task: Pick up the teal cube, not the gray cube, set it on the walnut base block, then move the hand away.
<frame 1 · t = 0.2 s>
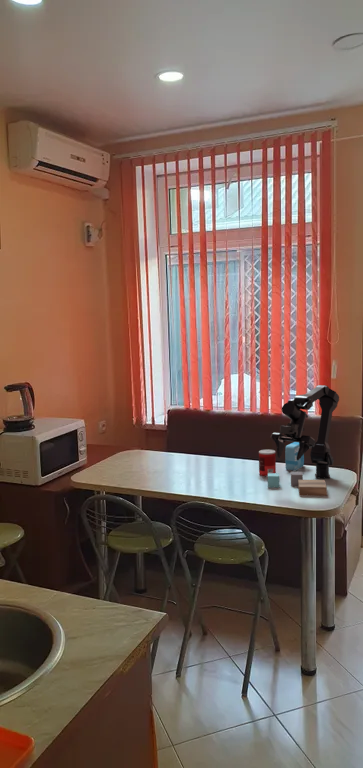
hand: (287, 458, 241), 15 cm above the table, tool tilted 30°, fingers open, 9 cm apart
data package: (294, 468, 283), on the table
walnut base block: (312, 492, 244), on the table
teal cube: (273, 485, 254), on the table
gray cube: (296, 484, 255), on the table
canned food: (267, 474, 273), on the table
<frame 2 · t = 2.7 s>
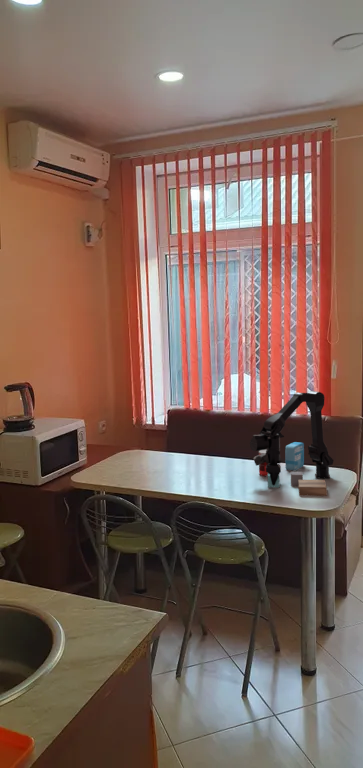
hand: (273, 483, 254), 1 cm above the table, tool pointing down, fingers closed on teal cube, 5 cm apart
teal cube: (273, 485, 254), on the table, touching gripper
everything else where it was.
when the fingers open (6 cm above the table, at t = 7.8 s): teal cube drops 2 cm, resting on walnut base block.
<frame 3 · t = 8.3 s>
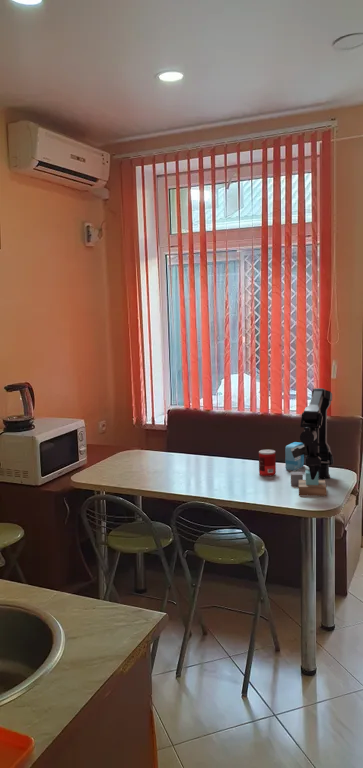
hand: (312, 476, 243), 6 cm above the table, tool pointing down, fingers open, 9 cm apart
walnut base block: (312, 492, 244), on the table, touching teal cube
teal cube: (311, 483, 244), point 4 cm above the table, touching walnut base block
everything else where it was.
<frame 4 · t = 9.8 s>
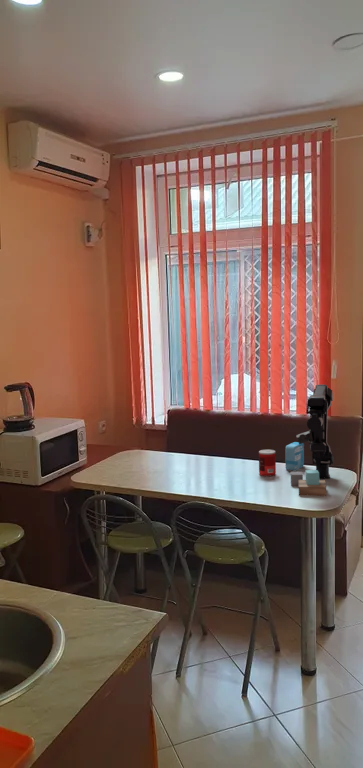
hand: (317, 462, 246), 12 cm above the table, tool pointing down, fingers open, 9 cm apart
walnut base block: (312, 492, 244), on the table
teal cube: (312, 483, 244), point 4 cm above the table
everything else where it was.
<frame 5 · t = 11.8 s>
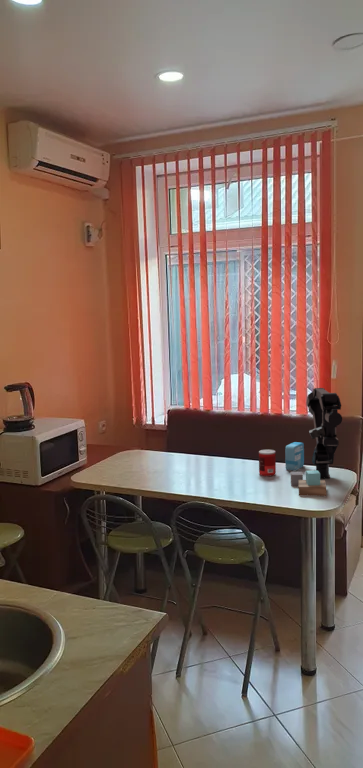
hand: (329, 457, 253), 12 cm above the table, tool pointing down, fingers open, 9 cm apart
walnut base block: (312, 492, 244), on the table, touching teal cube
teal cube: (313, 483, 243), point 3 cm above the table, touching walnut base block
everything else where it was.
at the end: teal cube inside the target area on the walnut base block (0.4 cm from its centre), point 4.0 cm above the walnut base block's base; teal cube tilted 0°; the gripper is holding nothing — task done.
